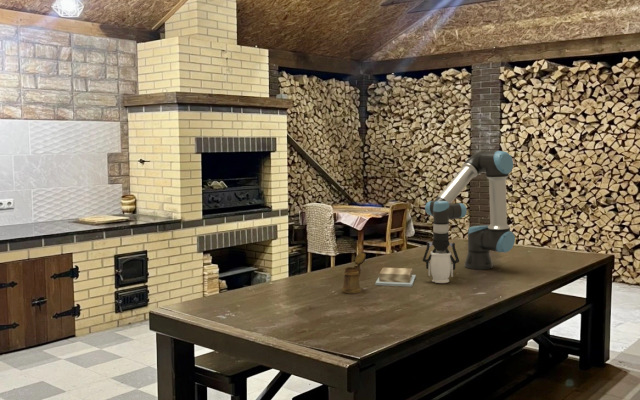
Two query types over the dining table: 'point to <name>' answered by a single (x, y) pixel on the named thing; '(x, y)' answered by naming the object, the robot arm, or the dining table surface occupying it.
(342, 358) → the dining table surface
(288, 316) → the dining table surface
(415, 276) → the board
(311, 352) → the dining table surface
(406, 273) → the tan flat block
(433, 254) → the jar
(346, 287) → the wooden mug
